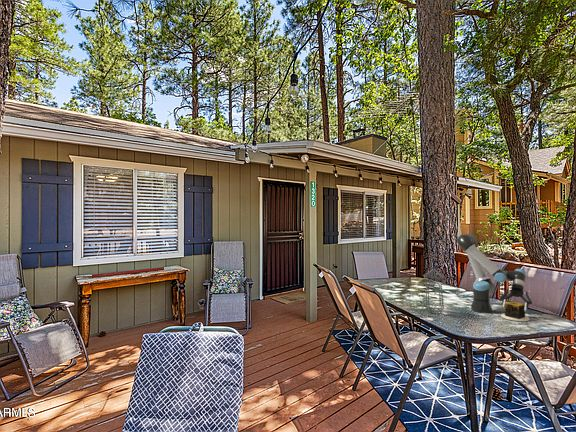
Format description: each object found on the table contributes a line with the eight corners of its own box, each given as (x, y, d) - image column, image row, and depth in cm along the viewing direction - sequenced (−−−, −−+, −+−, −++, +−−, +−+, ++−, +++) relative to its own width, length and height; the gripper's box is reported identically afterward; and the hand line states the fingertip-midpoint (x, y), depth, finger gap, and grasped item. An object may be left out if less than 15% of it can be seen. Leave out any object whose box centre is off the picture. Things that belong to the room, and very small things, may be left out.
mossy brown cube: (518, 319, 243) (518, 305, 243) (504, 315, 252) (504, 302, 252) (525, 317, 248) (525, 304, 248) (511, 314, 257) (511, 301, 257)
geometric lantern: (425, 314, 261) (423, 270, 263) (424, 309, 276) (423, 267, 277) (446, 315, 256) (445, 270, 257) (444, 310, 271) (443, 268, 272)
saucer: (495, 316, 253) (495, 315, 253) (508, 313, 262) (508, 312, 262) (521, 323, 237) (521, 321, 237) (534, 319, 246) (534, 318, 246)
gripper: (538, 291, 252) (535, 315, 241) (500, 286, 270) (496, 308, 259) (537, 285, 248) (534, 309, 237) (498, 281, 266) (494, 303, 255)
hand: (514, 309), depth 248 cm, fingers open, 13 cm apart
